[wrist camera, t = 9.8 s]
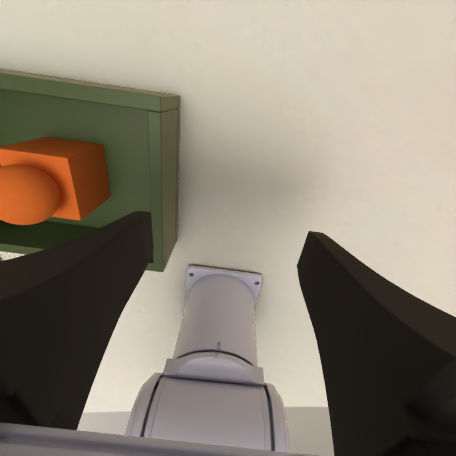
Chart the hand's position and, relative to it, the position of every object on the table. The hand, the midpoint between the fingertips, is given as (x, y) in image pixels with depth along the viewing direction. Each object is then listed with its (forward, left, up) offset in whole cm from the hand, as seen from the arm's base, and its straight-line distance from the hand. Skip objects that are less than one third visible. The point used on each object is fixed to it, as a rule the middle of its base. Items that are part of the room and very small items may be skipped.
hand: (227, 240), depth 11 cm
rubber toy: (-1, +12, -9) cm, 16 cm away
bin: (-1, +12, -10) cm, 16 cm away
